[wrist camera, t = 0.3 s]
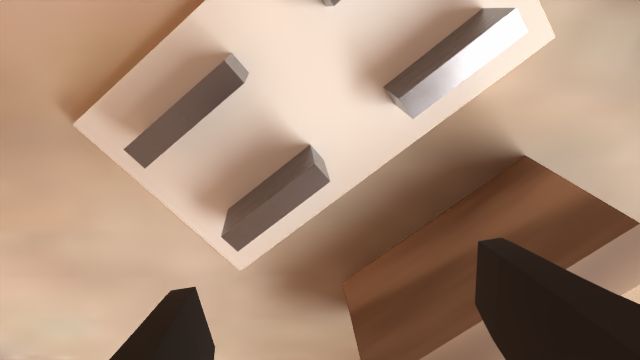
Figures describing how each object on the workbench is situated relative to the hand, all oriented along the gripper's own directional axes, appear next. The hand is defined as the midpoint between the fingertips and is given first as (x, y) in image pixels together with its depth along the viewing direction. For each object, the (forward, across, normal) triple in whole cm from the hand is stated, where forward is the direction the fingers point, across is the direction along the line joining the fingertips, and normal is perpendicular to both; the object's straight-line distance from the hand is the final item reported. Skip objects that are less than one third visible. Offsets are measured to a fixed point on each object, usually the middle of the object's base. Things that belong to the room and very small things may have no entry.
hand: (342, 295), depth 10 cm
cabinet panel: (+10, -1, -4) cm, 11 cm away
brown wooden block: (+10, -7, +6) cm, 13 cm away
